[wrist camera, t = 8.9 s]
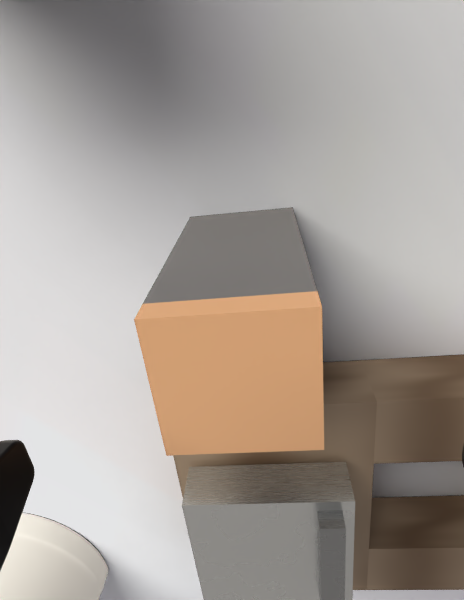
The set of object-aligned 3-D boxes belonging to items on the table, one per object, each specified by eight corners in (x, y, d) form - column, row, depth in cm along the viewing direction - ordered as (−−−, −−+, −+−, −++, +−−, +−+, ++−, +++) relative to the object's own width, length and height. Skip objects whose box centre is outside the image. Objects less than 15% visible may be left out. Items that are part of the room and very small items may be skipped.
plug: (292, 207, 17) (322, 306, 9) (296, 300, 19) (324, 449, 11) (190, 216, 17) (134, 319, 10) (204, 306, 19) (166, 455, 11)
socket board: (516, 351, 19) (558, 393, 17) (476, 535, 25) (502, 589, 22) (175, 370, 21) (163, 411, 18) (209, 539, 26) (204, 590, 24)
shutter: (345, 461, 18) (359, 519, 16) (344, 561, 21) (355, 623, 19) (189, 466, 19) (178, 523, 17) (209, 562, 22) (202, 622, 20)
